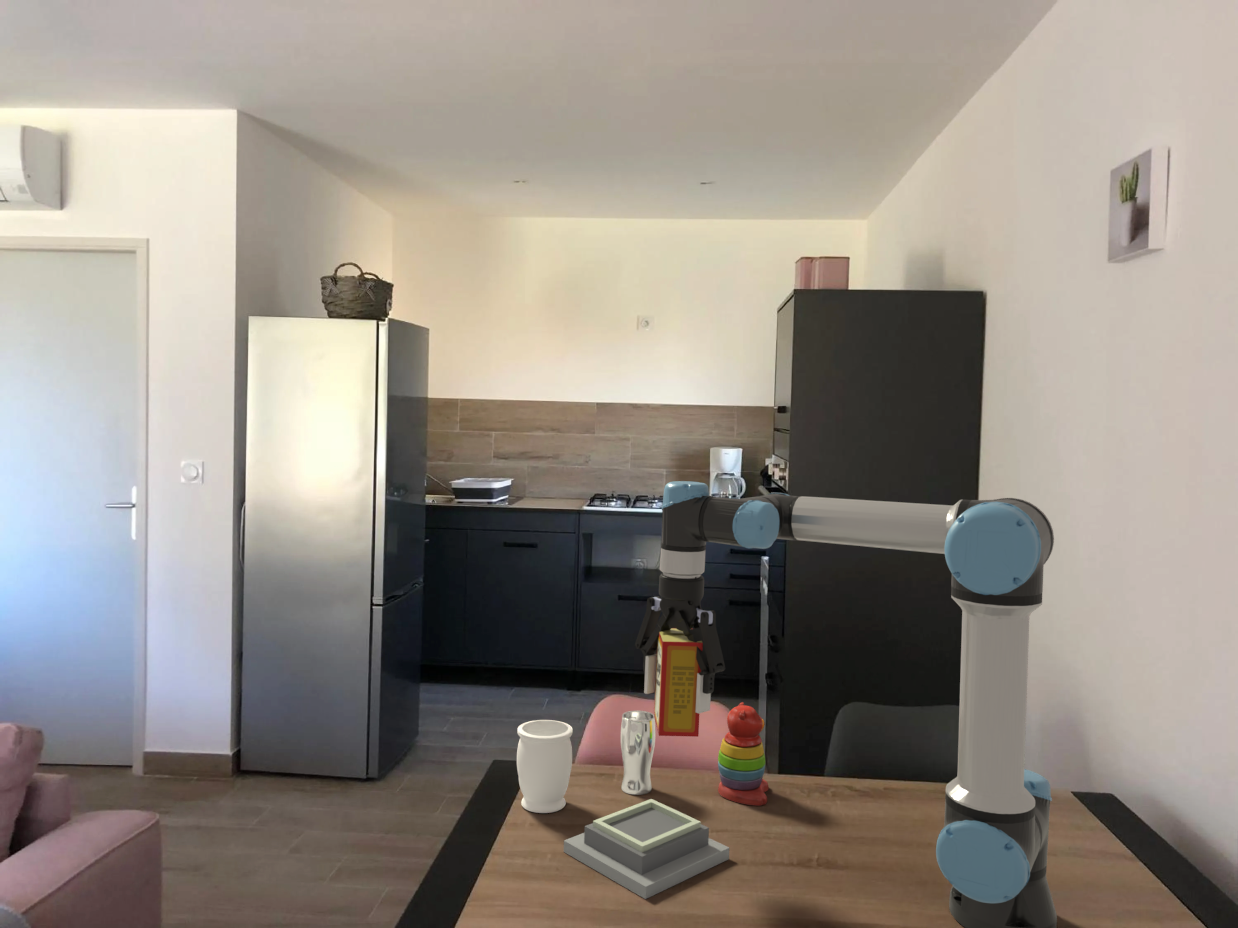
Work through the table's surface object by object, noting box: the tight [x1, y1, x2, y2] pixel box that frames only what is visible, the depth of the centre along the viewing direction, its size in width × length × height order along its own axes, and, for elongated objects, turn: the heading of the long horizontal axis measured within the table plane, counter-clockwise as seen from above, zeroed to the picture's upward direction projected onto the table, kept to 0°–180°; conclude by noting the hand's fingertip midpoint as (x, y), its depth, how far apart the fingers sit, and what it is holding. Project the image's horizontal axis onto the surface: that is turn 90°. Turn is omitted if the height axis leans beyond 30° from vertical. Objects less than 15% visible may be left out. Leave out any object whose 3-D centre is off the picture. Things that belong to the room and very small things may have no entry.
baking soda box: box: [653, 628, 703, 738], centre depth 155 cm, size 10×6×16 cm
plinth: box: [563, 798, 730, 900], centre depth 157 cm, size 20×20×6 cm
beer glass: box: [620, 710, 656, 796], centre depth 184 cm, size 7×7×15 cm
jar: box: [516, 719, 573, 814], centre depth 176 cm, size 11×10×15 cm
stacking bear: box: [717, 701, 769, 807], centre depth 184 cm, size 11×10×18 cm
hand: (676, 701), depth 155 cm, fingers closed on baking soda box, 11 cm apart
